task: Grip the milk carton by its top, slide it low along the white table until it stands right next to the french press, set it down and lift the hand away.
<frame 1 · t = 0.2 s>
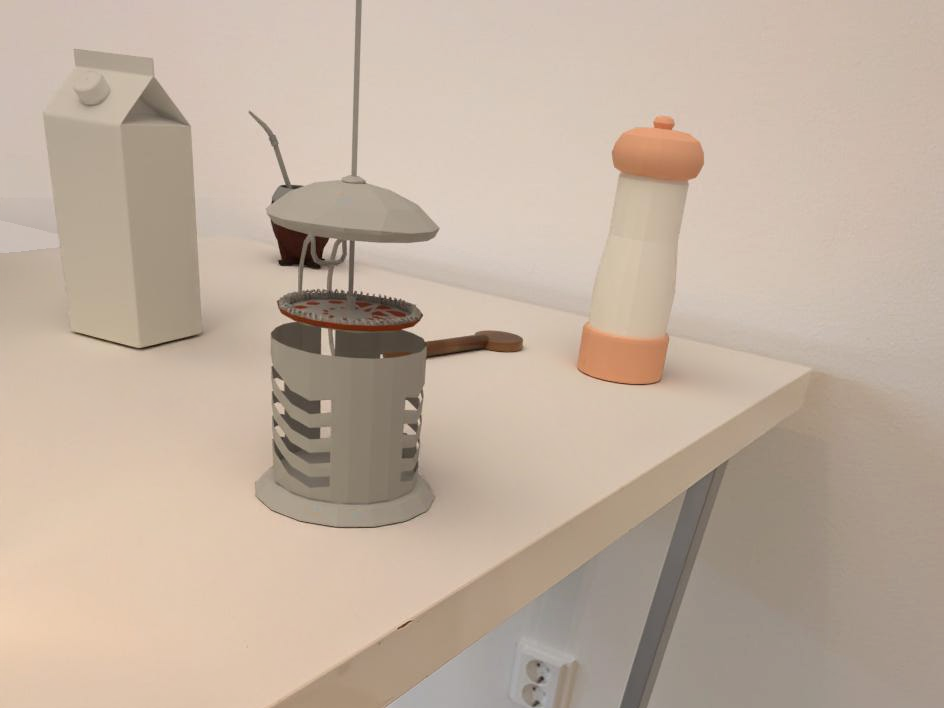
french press: (340, 487, 51), on the table
pepper shaker: (618, 374, 78), on the table
wooden spoon: (454, 352, 78), on the table
milk carton: (138, 336, 73), on the table
mate gourd: (297, 265, 106), on the table
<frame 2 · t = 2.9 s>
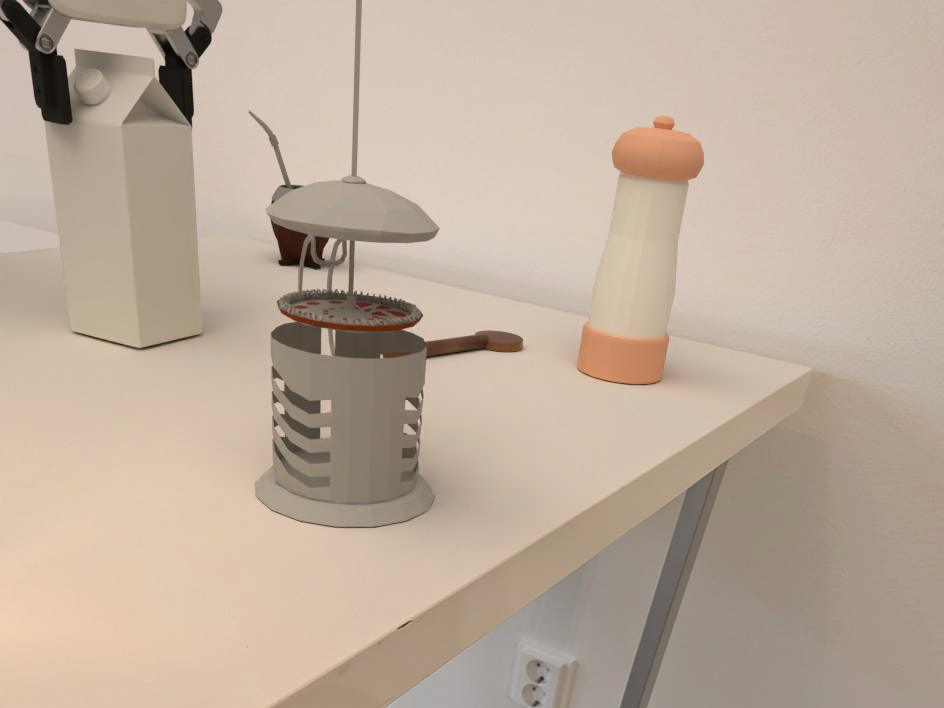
hand: (120, 125, 65), 15 cm above the table, tool pointing down, fingers closed on milk carton, 8 cm apart
milk carton: (138, 336, 73), on the table, touching gripper
everything else where it was.
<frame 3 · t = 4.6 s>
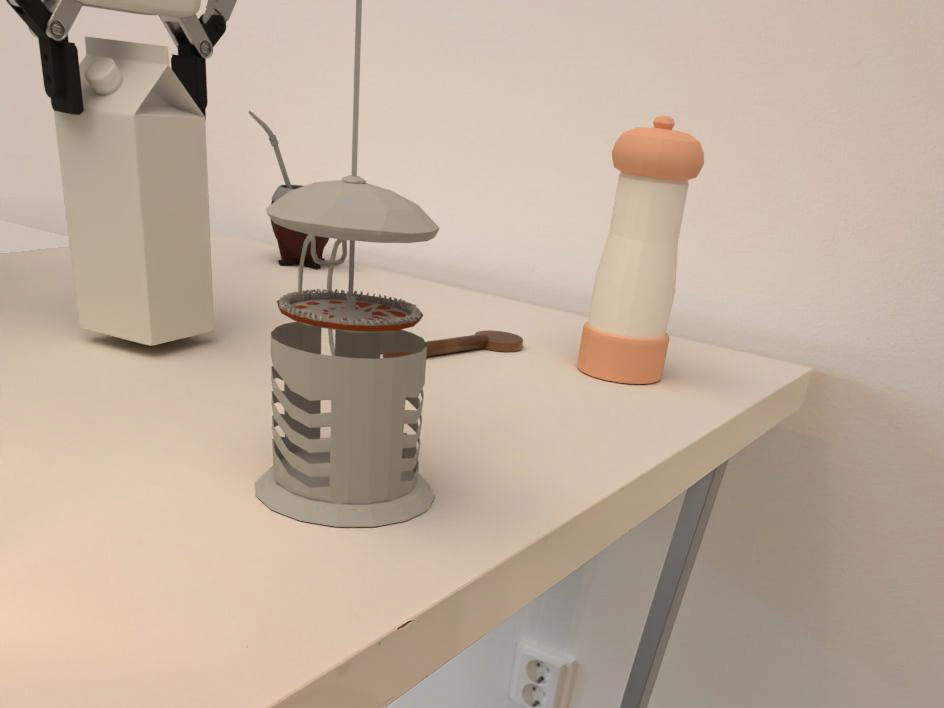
hand: (131, 116, 63), 15 cm above the table, tool pointing down, fingers closed on milk carton, 8 cm apart
milk carton: (148, 334, 71), point 1 cm above the table, touching gripper
everything else where it was.
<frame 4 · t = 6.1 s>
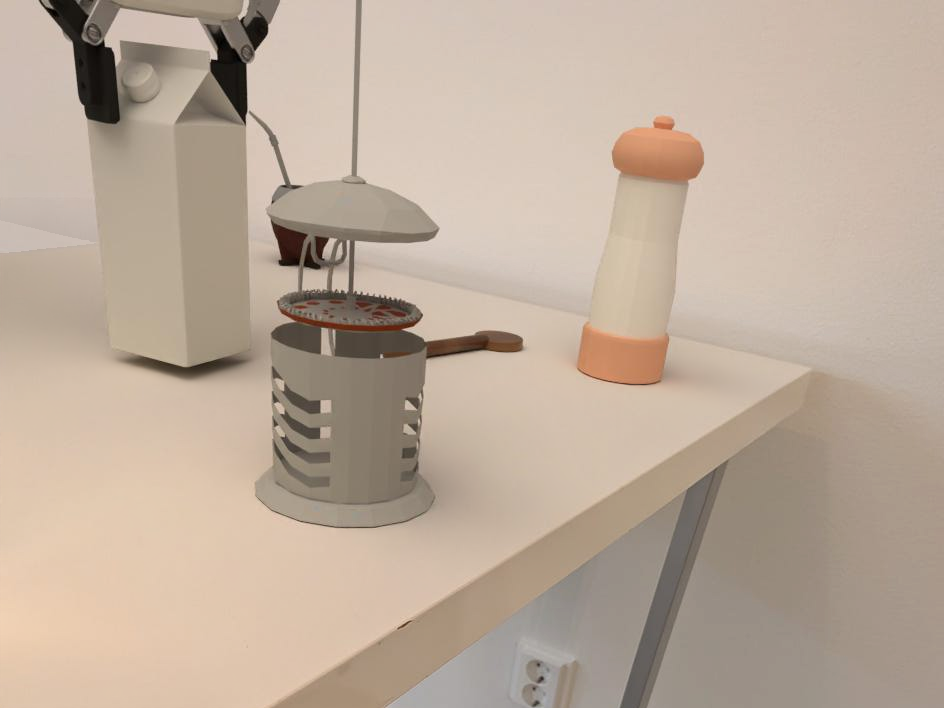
hand: (168, 124, 60), 15 cm above the table, tool pointing down, fingers closed on milk carton, 8 cm apart
milk carton: (182, 353, 67), point 1 cm above the table, touching gripper
everything else where it was.
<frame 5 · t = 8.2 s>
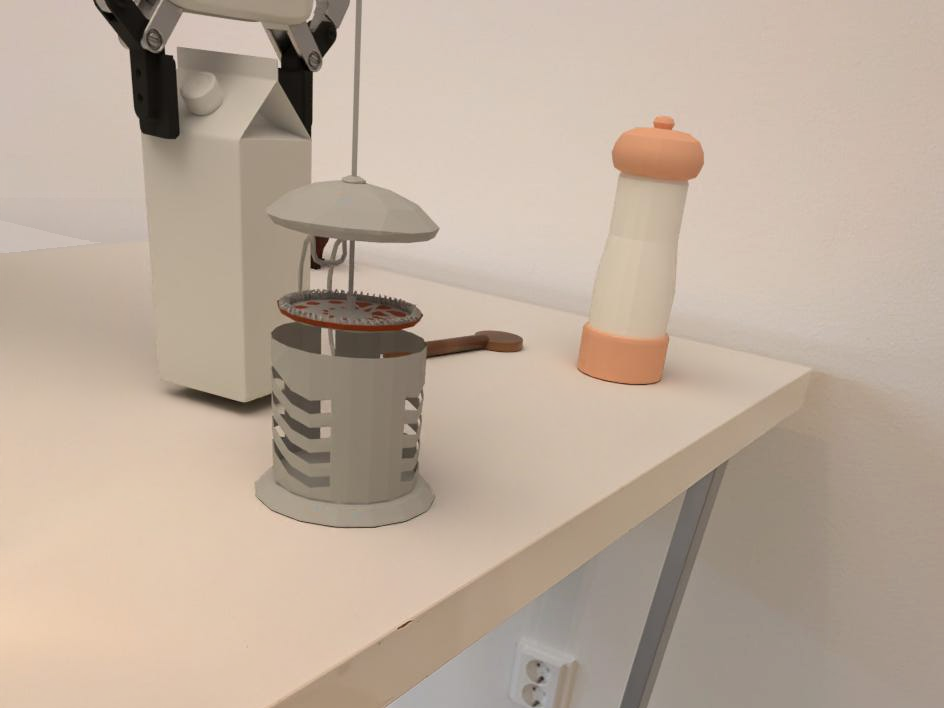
hand: (229, 139, 54), 15 cm above the table, tool pointing down, fingers closed on milk carton, 8 cm apart
milk carton: (236, 385, 62), point 1 cm above the table, touching gripper
everything else where it was.
when the fingers open (15 cm above the table, at t = 9.6 s): milk carton stays where it is, on the table.
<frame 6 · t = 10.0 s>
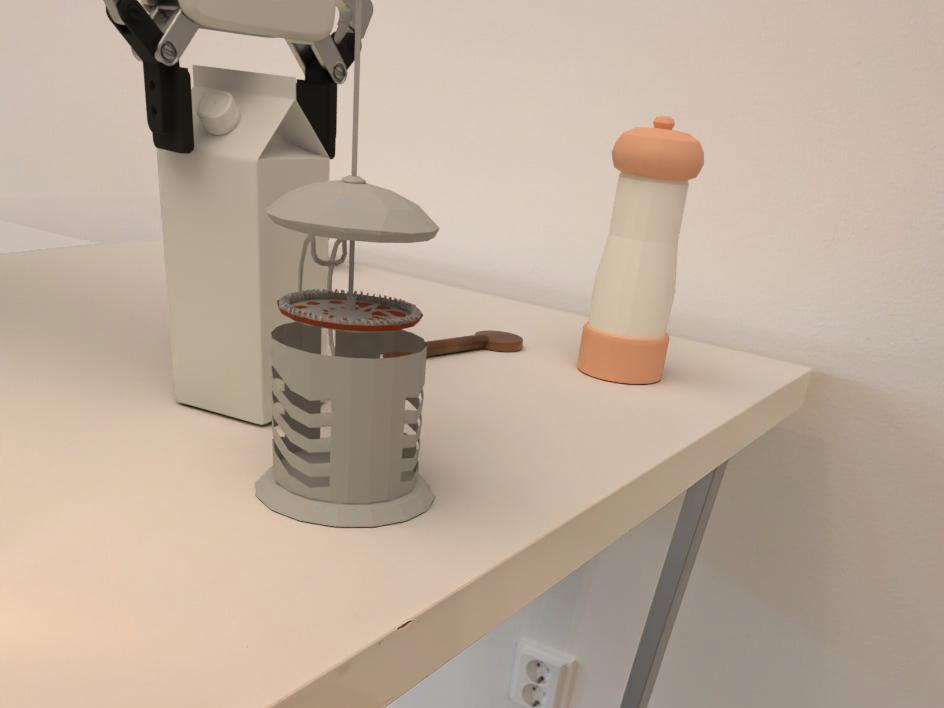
hand: (248, 153, 53), 15 cm above the table, tool pointing down, fingers open, 9 cm apart
milk carton: (252, 406, 61), on the table
everything else where it was.
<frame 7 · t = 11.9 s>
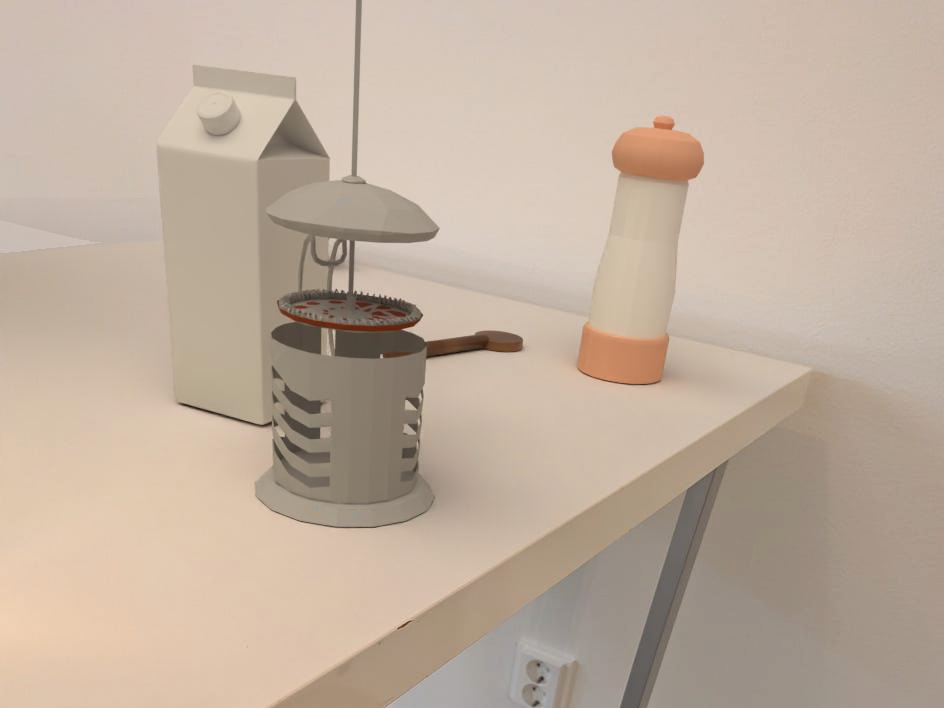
nothing on the table moved.
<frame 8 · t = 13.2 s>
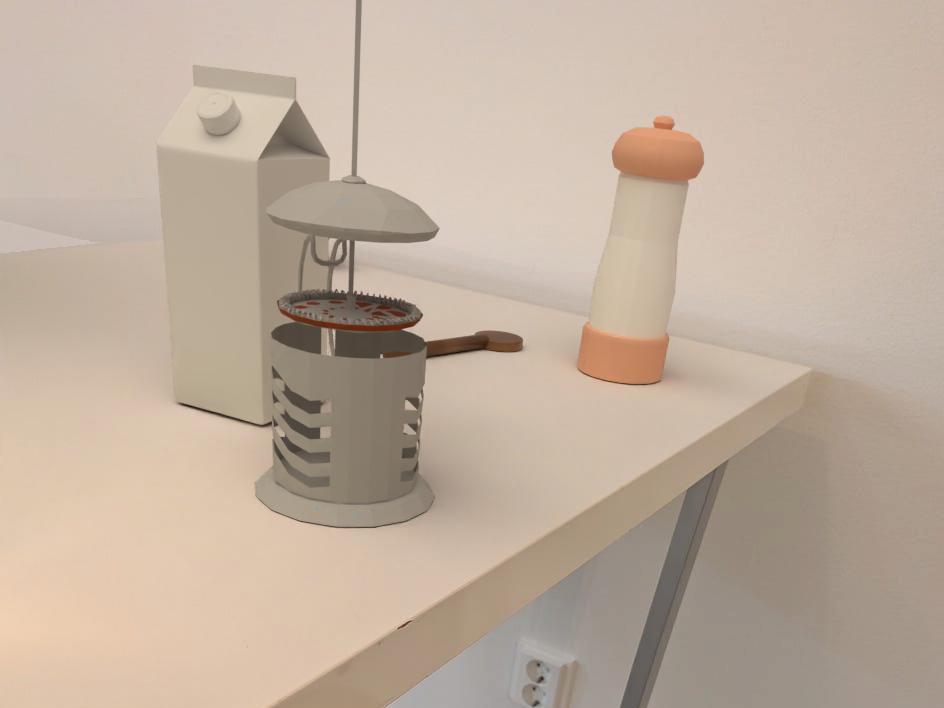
nothing on the table moved.
at the end: milk carton 14.7 cm from the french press (horizontally); milk carton inside the target area (0.5 cm from its centre), on the table; milk carton tilted 0° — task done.
